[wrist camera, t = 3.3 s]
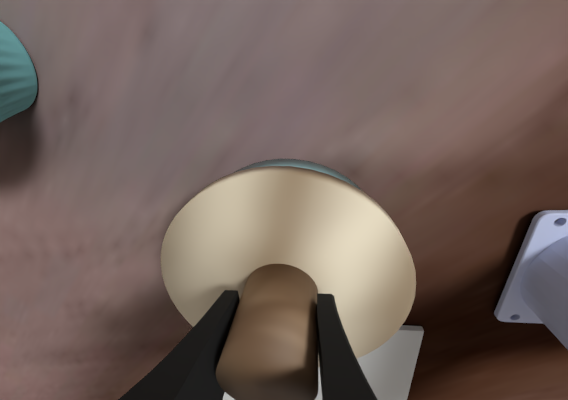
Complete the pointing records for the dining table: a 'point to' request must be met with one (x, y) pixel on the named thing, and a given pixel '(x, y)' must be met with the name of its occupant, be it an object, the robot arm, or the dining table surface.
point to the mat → (388, 365)
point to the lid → (287, 273)
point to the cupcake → (15, 75)
